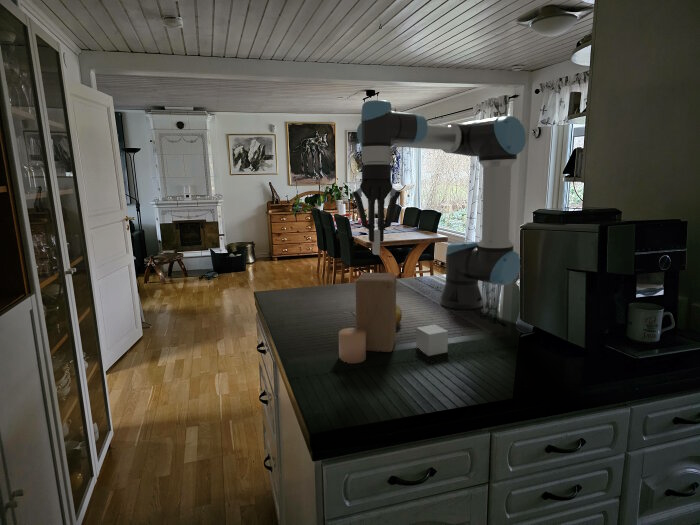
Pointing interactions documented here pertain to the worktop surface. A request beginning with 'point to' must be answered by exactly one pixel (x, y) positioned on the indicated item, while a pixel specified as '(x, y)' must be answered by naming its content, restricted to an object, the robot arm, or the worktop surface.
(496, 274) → the robot arm
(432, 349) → the grey plastic cube
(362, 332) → the peach round cylinder
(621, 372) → the worktop surface
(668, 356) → the worktop surface
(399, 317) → the bread roll
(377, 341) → the wooden block
